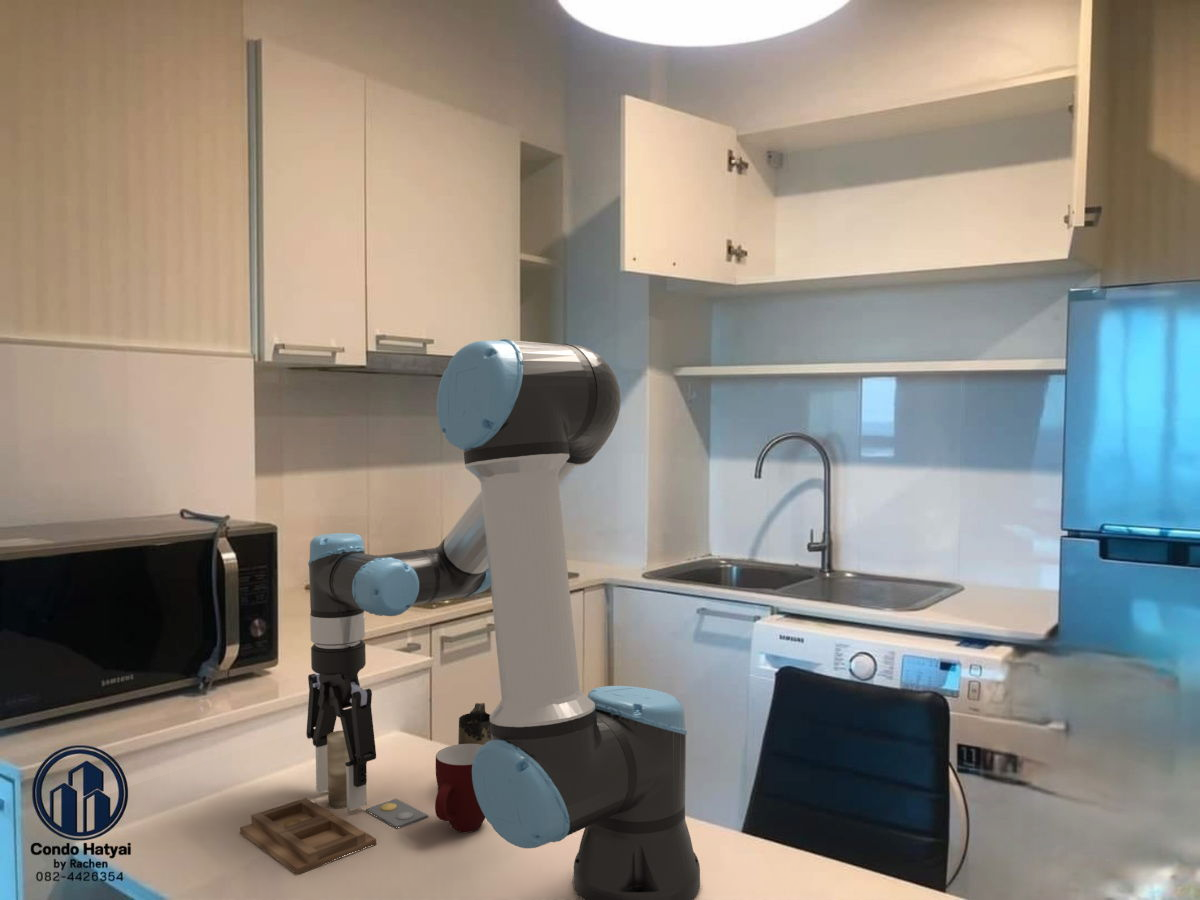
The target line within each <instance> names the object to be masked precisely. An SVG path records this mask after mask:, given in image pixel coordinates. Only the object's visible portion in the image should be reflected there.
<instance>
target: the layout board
mask: <svg viewBox="0 0 1200 900" xmlns="http://www.w3.org/2000/svg"><path fill="white" fill-rule="evenodd" d="M250 819H251V820H250V821H251V822H250V824H246V825H244V826H243V825H242V826H241V827H239V830H240V831H239V834H240V835H242V836H243V837H245V838H246V839H247V840H249V841H250V842H251V843H253V844H255V845H256V846H257V847H259V848H260V849H262V850H263V851H264V852H265V853H267V854H268V855H269V856H271V857H272V858H274V859H275V860H277V861H278V862H280V863H281V864H282V865H283V866H285V867H286V866H287V867H286V868H288V869H289V868H290V869H291V871H292V872H293V871H294V872H293V873H295V874H296V873H297V874H298V875H300V873H301V874H303V873H306V872H308V871H311V870H314V869H316V868H318V867H321V865H322V866H324V865H326V864H325V863H327V864H329V863H328V862H330V861H332V860H334V859H337V858H339V857H342V856H344V855H347V854H349V853H352V852H355V851H358V850H361V849H363V848H365V847H368V846H371V845H374V846H376V845H377V838H375V837H374V836H373V835H371V834H369V833H367V832H366V831H365V830H362V829H361V828H359V827H357V826H356V825H354V824H352V823H351V822H349V821H347V820H345V819H344V818H342V817H340V816H338V815H337V814H335V813H334V812H332V811H330V810H329V809H327V808H325V807H324V806H322V805H320V804H318V803H317V802H313V801H311V800H310V799H308V798H306V797H303V798H300V799H297V800H294V801H290V802H287V803H284V804H282V805H279V806H275V807H273V808H269V809H267V810H263V811H259V812H257V813H253V814H251V816H250ZM375 844H376V845H375ZM371 847H372V846H371ZM361 851H362V850H361ZM358 852H359V851H358ZM337 860H338V859H337ZM332 862H333V861H332ZM330 863H331V862H330ZM323 864H324V865H323ZM290 869H289V870H290ZM297 874H296V875H297Z"/></svg>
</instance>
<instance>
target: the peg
mask: <svg viewBox="0 0 1200 900" xmlns="http://www.w3.org/2000/svg"><path fill="white" fill-rule="evenodd" d="M327 761H328V790H327V801H328V802H327V805H328V807H330V808H332V807H333V808H332V809H342V807H345V808H347V784H346V764H345V763H346V762H350V760H349V755H348V751H347V746H346V742H345V737H344V733H343V729H342V730H336V731H333V732H331V733H329V734H328V735H327Z"/></svg>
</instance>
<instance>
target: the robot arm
mask: <svg viewBox="0 0 1200 900" xmlns="http://www.w3.org/2000/svg"><path fill="white" fill-rule="evenodd" d="M439 381H440V383H439V385H438V391H437V398H436V399H437V400H436V415H437V420H438V424H439V428H440V430H441V432H442V433H443V434H445V435H444V437H445V439H446V441H447V442H448V443H450V445H453V446H454V447H457V448H458V449H460V450H463V459H464V460H463V461H464V468H465V470H467V471H469V473H471V474H472V475H473V476H475V477H476V478H477V479H478V481H479V483H480V490H481V491H480V492H479V493H478V494H477V495H476V497H475V498H474V500H473V501H472V502H471V503H470V505H469V506H468V508H467V509H466V510H465V512H463V514H462V515H461V516H460V518H459V519H458V521H456V523H455V525H454V526H453V527H452V529H450V531H449V532H448V534H447V535H446V536H445V538H443V540H442V541H441V543H440V544H439V545H438V546H436V547H432V548H426V549H425V548H424V549H417V550H412V551H411V550H410V551H403V552H395V553H387V554H386V553H385V554H379V555H378V554H367V553H366V549H365V544H364V540H363V537H362V536H361V535H360V534H357V533H354V532H353V533H351V532H350V533H349V532H337V533H336V532H335V533H325V534H318V535H316V536H314V537H312V539H311V541H310V543H309V560H308V562H307V565H308V573H309V597H310V598H309V606H310V614H309V617H310V619H309V620H310V621H309V622H310V628H309V629H310V641H311V643H312V644H313V645H312V646H311V648H310V655H311V656H310V657H311V658H310V659H311V661H310V662H311V663H310V664H311V665H310V666H311V670H312V671H313V672H314V673H311V674H308V675H307V677H308V678H307V679H308V689H309V692H308V706H307V720H306V721H307V722H306V733H305V734H306V738H307V739H308V740H310V739H312V745H313V746H314V747H315V785H316V786H315V787H316V788H315V789H316V792H317V793H323V792H325V791H328V761H327V735H328V734H329V733H331V732H335V731H334V730H335V726H336V721H337V717H338V718H339V719H340V722H341V723H340V724H341V727H342V728H341V729H342V730H343V733H344V737H345V742H346V746H347V751H348V755H349V760H350V762H346V763H345V764H346V784H347V807H346V810H348V811H352V810H355V809H359V808H361V807H364V806H367V805H368V803H367V799H368V798H367V796H368V795H367V781H368V780H367V779H368V778H367V777H368V776H367V773H368V772H367V765H368V764H367V763H368V762H370V761H373V760H376V759H377V749H376V740H375V731H374V723H373V722H374V721H373V712H372V698H373V692H372V690H371V688H366V689H363V688H362V687H361V685H360V681H359V675H358V674H359V672H360V671H361V670H363V669H364V668H365V666H366V661H367V660H366V654H367V653H366V643H365V641H363V640H364V638H365V637H366V630H365V623H366V622H365V620H366V615H365V613H369V614H370V615H372V614H373V615H374V616H379V617H382V616H386V617H396V616H400V615H403V614H404V613H405V612H407V611H408V610H410V608H411V607H412V606H418V605H424V604H427V603H432V602H433V603H435V602H439V601H445V600H452V599H458V598H467V597H468V598H469V597H472V596H473V595H475V594H480V593H482V592H486V591H487V590H489V588H490V593H491V604H492V612H493V614H492V615H493V622H494V634H495V643H496V655H497V662H498V663H497V666H498V676H499V684H500V685H499V686H500V693H501V700H500V701H499V703H498V704H497V706H496V707H495V708H494V710H493V711H492V712H491V713H490V729H491V740H490V741H487V742H486V743H485V744H484V745H483V746H482V747H481V748H480V749H479V750H478V751H477V753H476V758H475V759H474V760H473V765H472V781H473V787H474V791H475V795H476V798H477V801H478V803H479V806H480V808H481V810H482V812H483V814H484V816H485V820H487V822H488V823H489V824H490V825H491V827H492V828H493V830H494V831H495V833H497V835H499V836H500V837H501V838H502V839H503V840H505V841H506V842H508V843H509V844H511V845H513V846H515V847H518V848H521V849H534V848H535V849H536V848H538V847H542V846H544V845H547V844H550V843H556V842H560V841H563V840H564V839H565V838H567V836H568V837H569V836H570V835H572V834H575V833H576V832H579V831H581V830H583V829H584V831H583V833H582V836H581V840H580V844H579V848H578V852H577V853H576V856H575V858H574V861H573V888H574V891H576V893H577V894H578V895H577V896H579V897H580V898H581V900H693V899H694V898H696V896H697V895H698V893H699V891H700V887H701V868H700V866H701V865H700V861H699V859H698V858H699V857H698V856H697V855H696V853H695V851H694V848H693V843H692V838H691V834H690V831H689V827H688V823H687V822H686V762H687V761H686V758H687V757H686V756H687V755H686V753H687V752H686V750H687V749H686V747H687V746H686V745H687V744H686V743H687V742H686V741H687V740H686V737H687V736H686V735H687V734H688V732H687V729H686V721H685V719H686V718H685V717H686V716H685V709H684V706H683V705H682V702H681V701H680V700H679V699H678V698H677V697H675V696H673V695H671V694H670V693H667V692H664V691H661V690H657V689H651V688H645V687H640V686H633V685H632V686H629V685H627V686H626V685H607V686H606V685H605V686H599V687H595V688H592V689H591V690H590V691H589V692H588V695H587V694H585V693H584V692H583V691H582V690H581V689H580V680H579V678H580V677H579V670H578V669H579V668H578V659H577V651H576V640H575V638H576V637H575V631H574V629H575V628H574V621H573V611H572V601H571V592H570V590H571V589H570V582H569V573H568V571H569V570H568V563H567V553H566V552H567V551H566V542H565V532H564V531H565V530H564V523H563V521H564V520H563V512H562V511H563V510H562V504H561V502H562V501H561V495H560V494H561V493H560V484H561V483H563V480H565V479H566V478H567V476H568V475H569V474H570V473H571V472H572V470H573V469H574V468H575V467H576V466H578V467H579V466H584V465H586V464H588V463H590V461H592V459H593V458H595V456H596V455H597V453H599V452H600V450H601V449H602V448H603V446H604V445H605V444H606V442H607V441H608V439H609V438H610V436H611V434H612V433H613V431H614V429H615V427H616V424H617V422H618V419H619V416H620V415H619V414H620V409H621V402H622V400H621V391H620V389H621V388H620V386H619V382H618V380H617V377H616V374H615V373H614V371H613V369H612V368H611V366H610V365H609V364H608V363H607V361H606V360H605V359H603V357H601V356H600V355H599V354H598V353H596V352H595V351H593V350H591V349H589V348H587V347H586V346H585V347H584V346H582V345H579V344H573V343H572V344H571V343H560V344H559V343H549V342H548V343H547V342H535V341H522V340H512V339H511V340H510V339H508V338H507V339H506V338H504V339H496V340H495V339H494V340H479V341H473V342H470V343H468V344H467V345H464V346H463V347H461V348H460V349H459V350H458V351H457V352H456V353H454V355H453V356H452V357H451V359H450V360H449V362H448V364H447V368H446V369H445V370H444V371H443V373H442V376H441V378H440V380H439Z"/></svg>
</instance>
